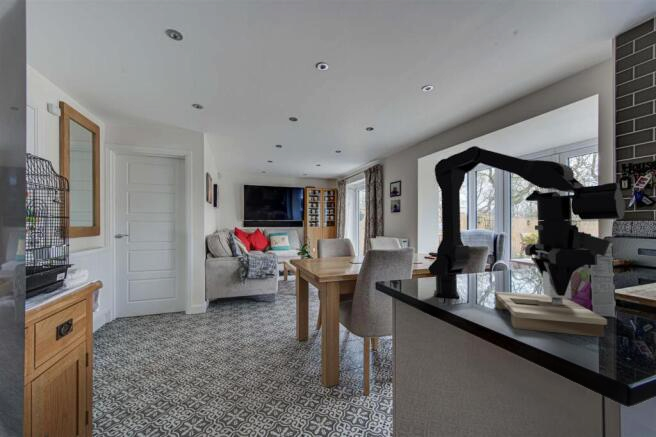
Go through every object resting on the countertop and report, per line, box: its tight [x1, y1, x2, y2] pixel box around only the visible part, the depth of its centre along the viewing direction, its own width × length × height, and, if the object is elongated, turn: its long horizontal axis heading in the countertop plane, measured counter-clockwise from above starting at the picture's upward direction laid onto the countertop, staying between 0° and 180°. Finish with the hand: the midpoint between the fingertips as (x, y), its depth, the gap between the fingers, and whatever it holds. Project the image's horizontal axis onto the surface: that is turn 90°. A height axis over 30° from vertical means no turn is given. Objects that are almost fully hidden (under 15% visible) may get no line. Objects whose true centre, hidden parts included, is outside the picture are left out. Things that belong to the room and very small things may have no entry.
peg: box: [542, 271, 571, 306], centre depth 59 cm, size 4×4×10 cm
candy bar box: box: [567, 242, 617, 318], centre depth 67 cm, size 11×5×16 cm, turn 168°
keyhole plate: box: [494, 291, 608, 338], centre depth 60 cm, size 18×14×4 cm
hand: (556, 293), depth 59 cm, fingers closed on peg, 4 cm apart
